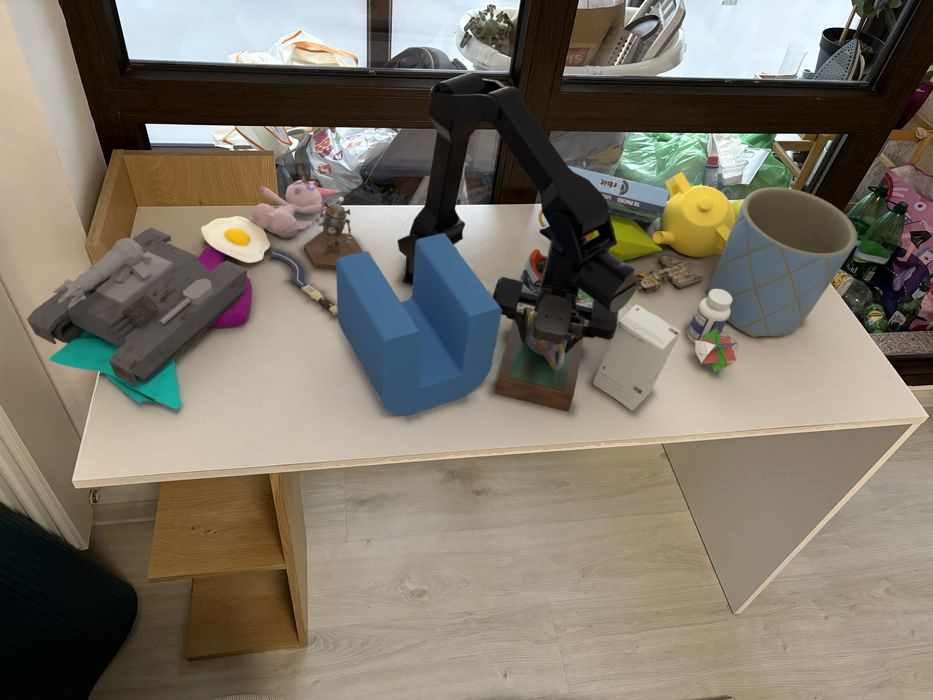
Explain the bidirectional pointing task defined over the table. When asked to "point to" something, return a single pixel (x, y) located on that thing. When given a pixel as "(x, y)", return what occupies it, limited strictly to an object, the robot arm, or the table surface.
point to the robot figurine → (332, 238)
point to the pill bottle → (710, 314)
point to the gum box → (628, 195)
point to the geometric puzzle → (715, 350)
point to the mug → (544, 346)
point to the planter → (781, 259)
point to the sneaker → (535, 273)
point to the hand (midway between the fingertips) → (544, 345)
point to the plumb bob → (625, 238)
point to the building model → (668, 275)
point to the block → (419, 327)
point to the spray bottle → (242, 307)
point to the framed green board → (537, 374)
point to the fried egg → (237, 238)
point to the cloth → (96, 355)
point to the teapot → (695, 219)
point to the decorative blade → (300, 276)
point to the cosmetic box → (635, 356)
